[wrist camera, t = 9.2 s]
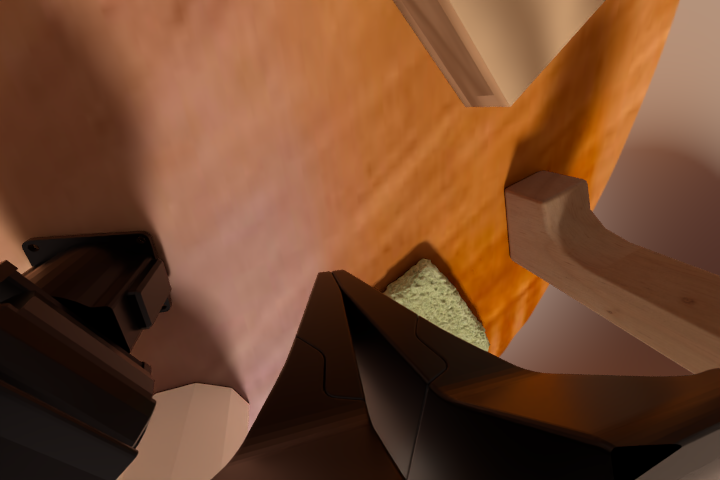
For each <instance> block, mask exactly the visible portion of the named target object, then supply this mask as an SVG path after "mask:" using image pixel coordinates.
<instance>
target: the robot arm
mask: <svg viewBox="0 0 720 480" xmlns="http://www.w3.org/2000/svg"><path fill="white" fill-rule="evenodd" d="M139 237H143V238H144V239H145V241H141V240H140V239H139ZM33 244H35V245H37V246H38V247H39V249H37V248H35V247H34V246H33ZM22 248H23V250H24V252H25V254H26V256H27V258H28V260H29V261H30V263H31V265H32V268H30V269H29V270H27V271H26V272H24V273H23V274H20V273H19V272H17V271H16V270H17V269H18V268H17V267H15V266H14V265H13V264H11V263H10V262H9V261H7V260H5V261H3V262H0V480H116V479H117V478H118V477H119V476H120V475H121V474H122V473H123V471H124V470H125V469H126V468H127V467H128V466H129V465H130V464H131V463H132V462H133V460H134V459H135V458H136V457H137V455H138V450H136V447H137V446H138V444H139V443H140V441H141V439H142V437H143V435H144V434H145V431H146V429H147V426H148V423H149V421H150V419H151V417H152V414H153V412H154V410H155V407H156V400H155V399H153V398H152V396H153V389H154V379H153V378H152V376H151V366H149V365H148V364H147V363H145V362H140V361H139V360H137V359H136V358H135V357H133V356H132V355H131V354H129V353H130V351H131V350H132V348H133V346H134V344H135V343H136V341H137V339H138V337H139V336H140V334H141V332H142V330H143V329H149V328H150V327H151V326H152V325H153V323H154V321H155V320H156V318H157V316H158V314H159V313H161V312H166V311H168V310H169V309H170V307H171V305H172V301H171V298H170V295H169V293H170V291H171V286H170V283H169V279H168V276H167V273H166V269H165V266H164V263H163V261H162V260H160V259H158V256H157V253H156V249H155V246H154V243H153V239H152V237H151V235H150V234H149V233H147V232H145V231H134V232H118V233H103V234H87V235H71V236H55V237H39V238H31V239H29V240H27V241H26V242H24V243H23V245H22ZM164 304H165V305H166V306H163V305H164ZM211 480H720V368H714V369H709V370H706V371H704V372H701V373H697V374H693V375H685V376H667V377H646V376H613V375H582V374H580V375H579V374H550V373H540V372H534V371H530V370H526V369H523V368H520V367H517V366H515V365H513V364H511V363H509V362H507V361H505V360H502V359H501V358H499V357H497V356H495V355H493V354H491V353H489V352H487V351H485V350H482V349H480V348H478V347H476V346H474V345H472V344H470V343H468V342H466V341H464V340H462V339H461V338H459V337H457V336H455V335H453V334H451V333H449V332H447V331H445V330H443V329H442V328H440V327H438V326H436V325H435V324H433V323H431V322H429V321H428V320H426V319H425V318H423V317H421V316H418V314H416V313H414V312H413V311H411V310H409V309H408V308H406V307H405V306H403V305H401V304H400V303H398V302H396V301H395V300H393V299H391V298H390V297H388V296H386V295H385V294H383V293H381V292H380V291H378V290H376V289H375V288H373V287H371V286H370V285H368V284H366V283H365V282H363V281H361V280H360V279H358V278H357V277H355V276H353V275H352V274H350V273H348V272H347V271H345V270H337V271H332V273H331V272H330V271H328V272H320V273H318V275H317V278H316V280H315V283H314V286H313V289H312V292H311V295H310V297H309V300H308V303H307V306H306V309H305V311H304V314H303V317H302V320H301V323H300V325H299V328H298V331H297V334H296V337H295V339H294V342H293V345H292V347H291V350H290V353H289V355H288V358H287V360H286V362H285V365H284V367H283V369H282V371H281V373H280V375H279V377H278V379H277V381H276V383H275V385H274V387H273V388H272V390H271V392H270V394H269V396H268V398H267V399H266V401H265V403H264V405H263V407H262V409H261V411H260V412H259V414H258V416H257V418H256V420H255V422H254V423H253V425H252V427H251V429H250V431H249V433H248V434H247V436H246V438H245V440H244V441H243V443H242V445H241V446H240V448H239V449H238V451H237V452H236V453H235V455H234V456H233V457H232V459H231V460H230V461H229V462H228V463H227V465H226V466H225V467H224V468H223V469H222V470H221V471H219V472H218V473H217V474H216V475H215V476H214V477H213V478H212V479H211Z"/></svg>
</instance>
